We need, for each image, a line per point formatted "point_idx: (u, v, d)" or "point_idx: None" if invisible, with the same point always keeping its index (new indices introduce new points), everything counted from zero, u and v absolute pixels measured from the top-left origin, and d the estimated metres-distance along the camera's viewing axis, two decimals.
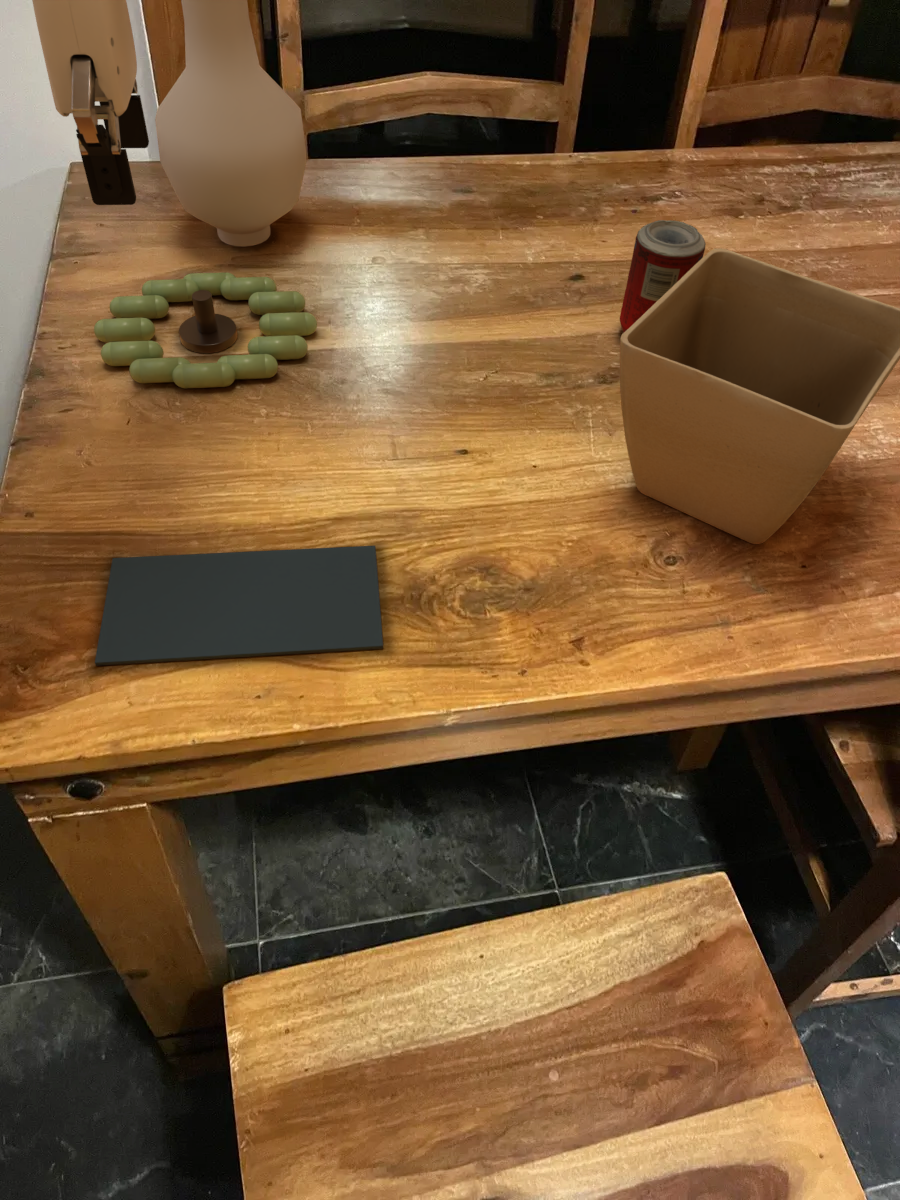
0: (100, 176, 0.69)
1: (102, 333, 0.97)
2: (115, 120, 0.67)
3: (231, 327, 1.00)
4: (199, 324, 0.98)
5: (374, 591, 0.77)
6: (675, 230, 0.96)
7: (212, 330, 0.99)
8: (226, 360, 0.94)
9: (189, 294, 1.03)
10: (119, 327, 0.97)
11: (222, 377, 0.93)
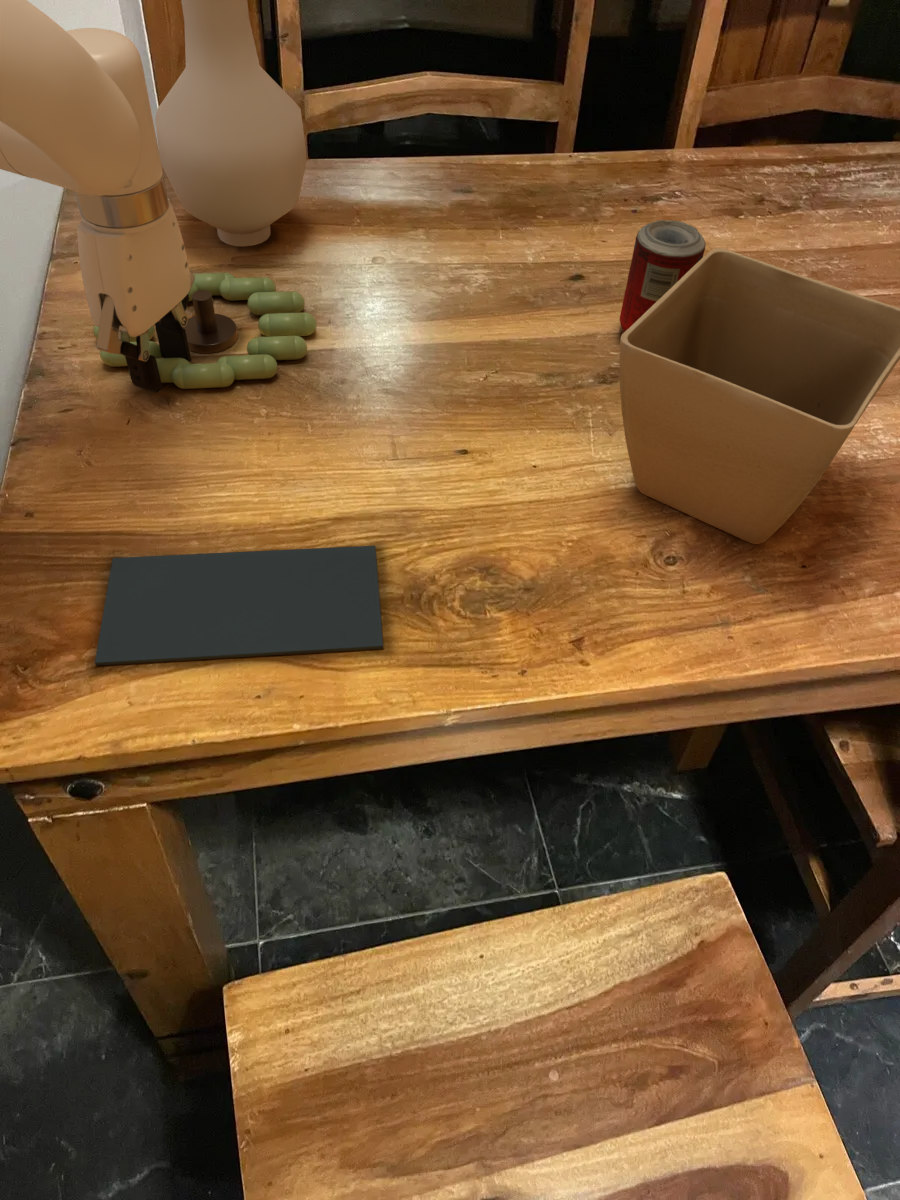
0: (133, 370, 0.90)
1: None
2: (142, 340, 0.87)
3: (231, 327, 1.00)
4: (199, 324, 0.98)
5: (374, 591, 0.77)
6: (675, 230, 0.96)
7: (212, 330, 0.99)
8: (225, 360, 0.94)
9: (188, 294, 1.03)
10: None
11: (222, 377, 0.93)
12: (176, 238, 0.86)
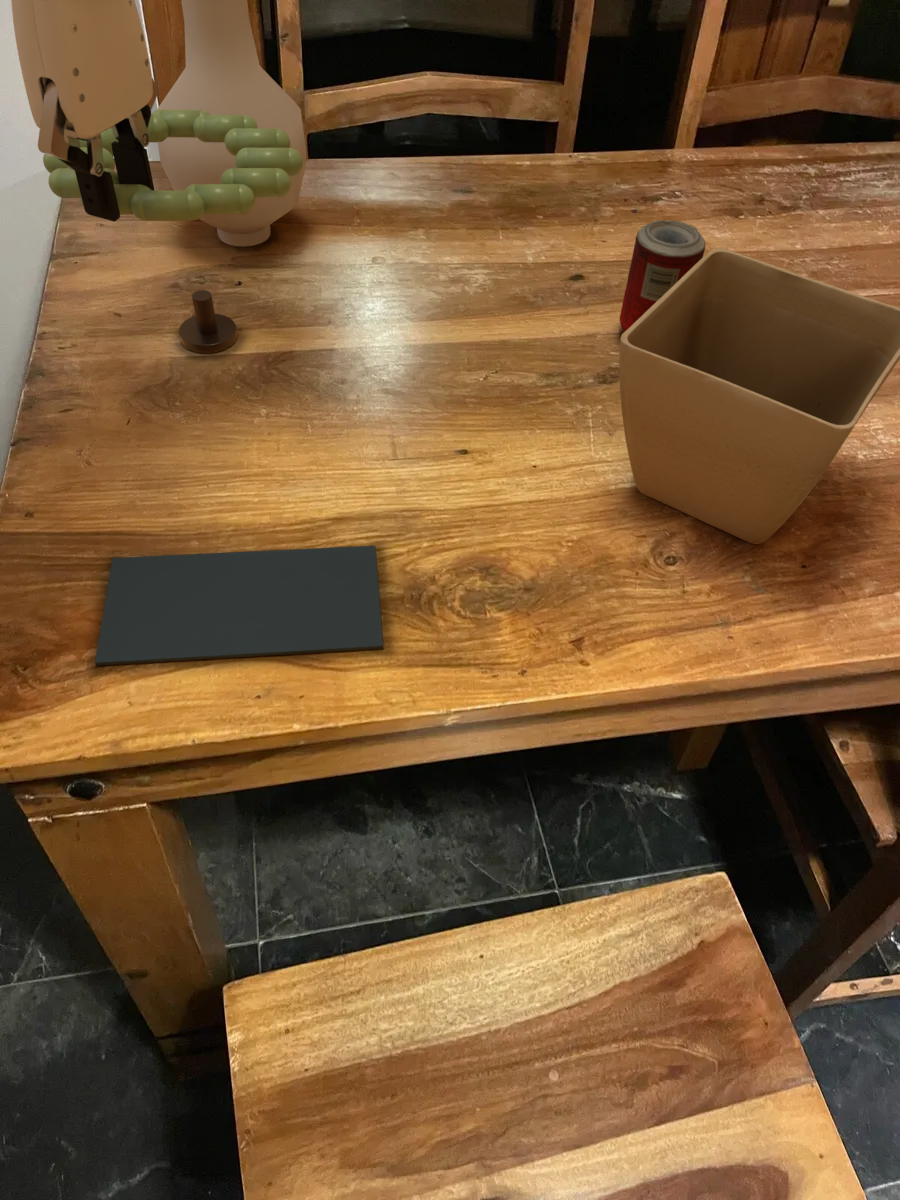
0: (84, 190, 0.77)
1: (52, 163, 0.83)
2: (93, 147, 0.74)
3: (231, 327, 1.00)
4: (199, 324, 0.98)
5: (374, 591, 0.77)
6: (675, 230, 0.96)
7: (212, 330, 0.99)
8: (194, 188, 0.80)
9: (157, 131, 0.89)
10: None
11: (188, 206, 0.79)
12: (133, 22, 0.72)
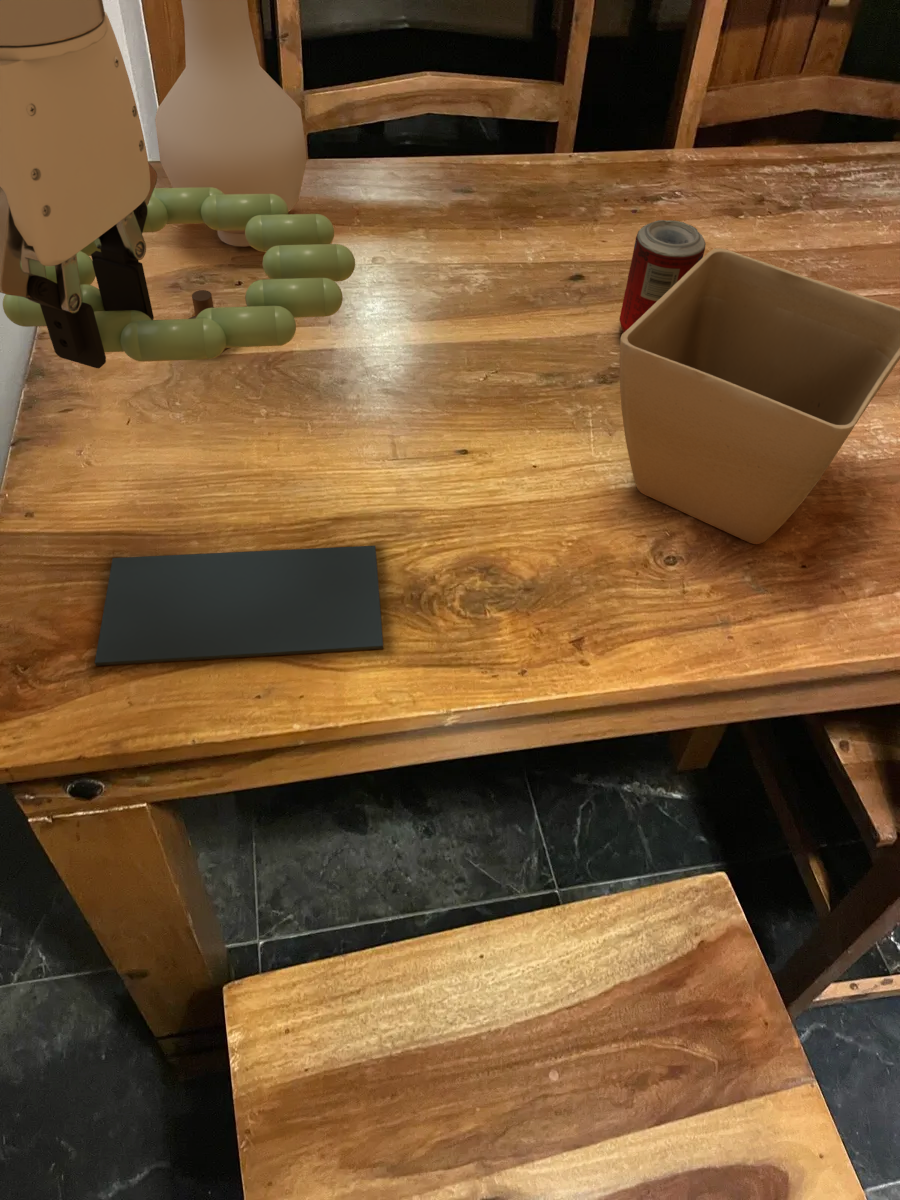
0: (54, 330, 0.53)
1: None
2: (66, 274, 0.50)
3: None
4: None
5: (374, 591, 0.77)
6: (675, 230, 0.96)
7: None
8: (211, 315, 0.56)
9: (152, 219, 0.66)
10: None
11: (204, 343, 0.56)
12: (122, 91, 0.48)
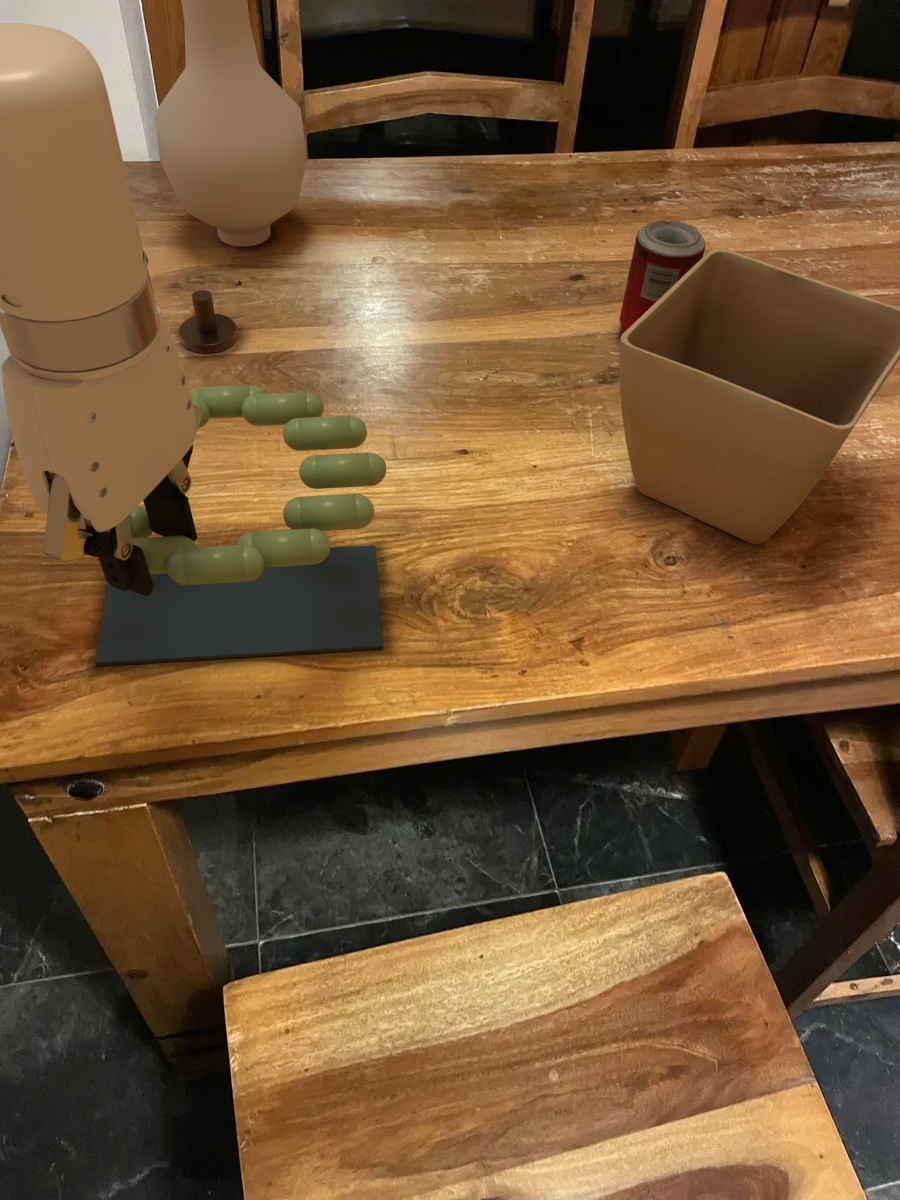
0: (106, 568, 0.57)
1: None
2: (119, 530, 0.54)
3: (231, 327, 1.00)
4: (199, 324, 0.98)
5: (374, 591, 0.77)
6: (675, 230, 0.96)
7: (212, 330, 0.99)
8: (251, 542, 0.60)
9: None
10: None
11: (244, 570, 0.59)
12: (173, 369, 0.52)
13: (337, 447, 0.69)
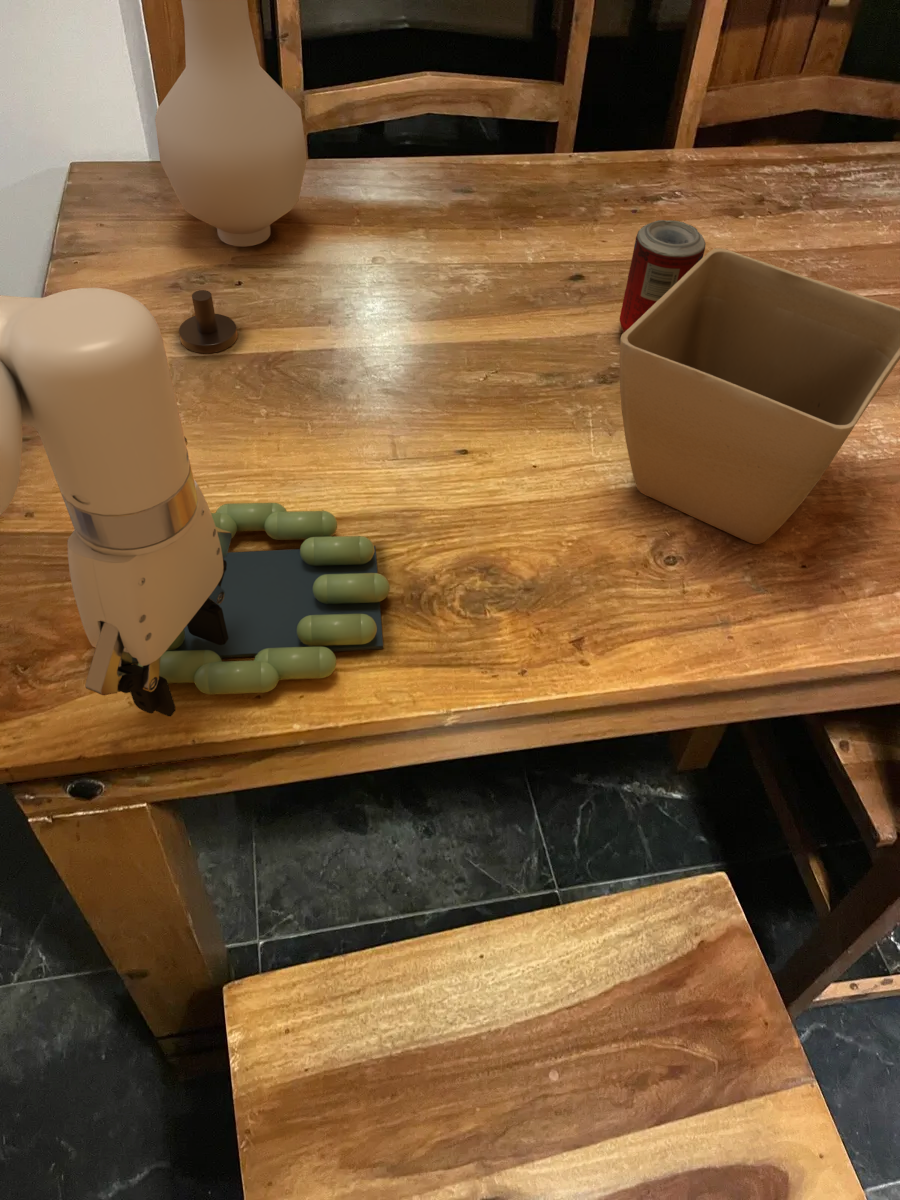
0: (135, 695, 0.65)
1: None
2: (151, 665, 0.62)
3: (231, 327, 1.00)
4: (199, 324, 0.98)
5: None
6: (675, 230, 0.96)
7: (212, 330, 0.99)
8: (267, 658, 0.69)
9: None
10: None
11: (261, 685, 0.68)
12: (206, 527, 0.61)
13: (347, 564, 0.78)
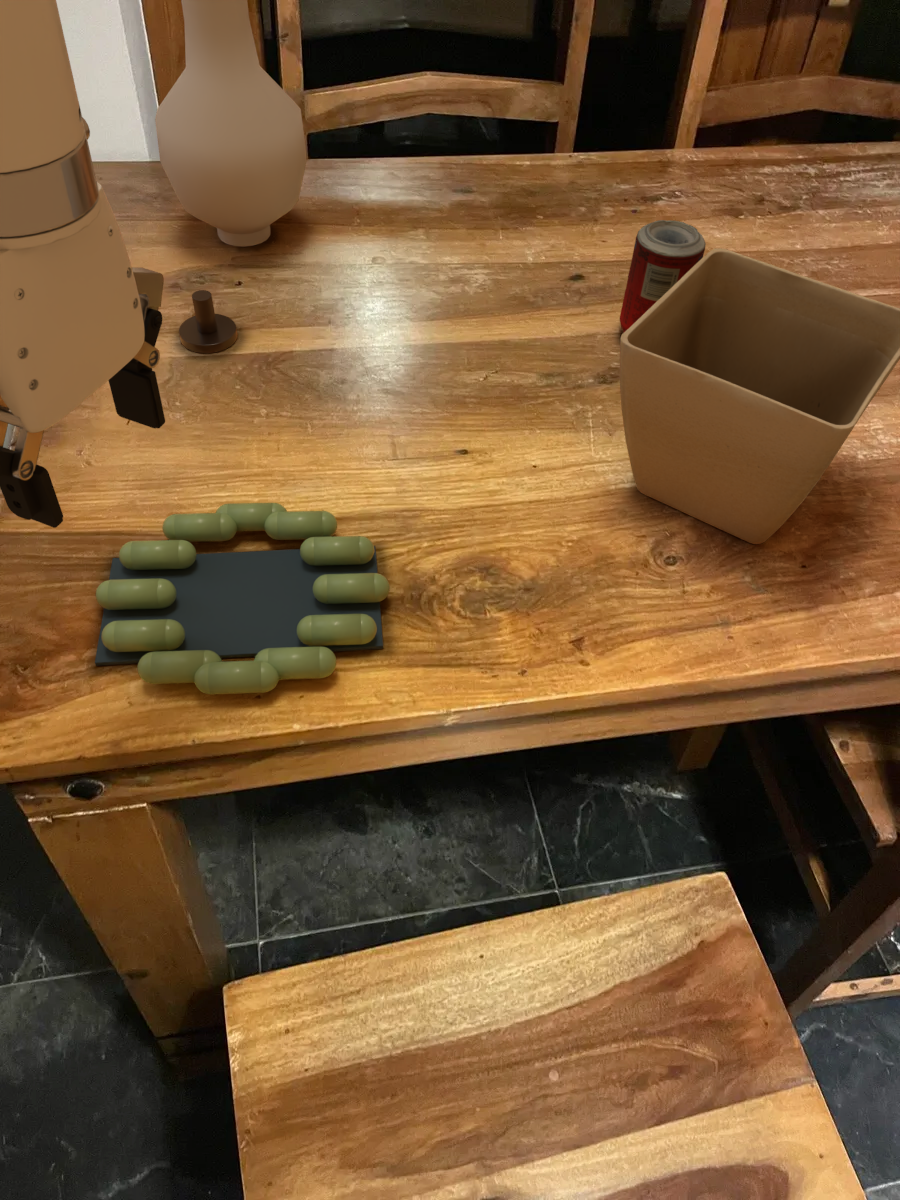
0: (7, 492, 0.50)
1: (106, 601, 0.73)
2: (28, 438, 0.47)
3: (231, 327, 1.00)
4: (199, 324, 0.98)
5: None
6: (675, 230, 0.96)
7: (212, 330, 0.99)
8: (267, 658, 0.69)
9: (224, 534, 0.79)
10: (129, 595, 0.73)
11: (261, 685, 0.68)
12: (116, 257, 0.48)
13: (347, 564, 0.78)
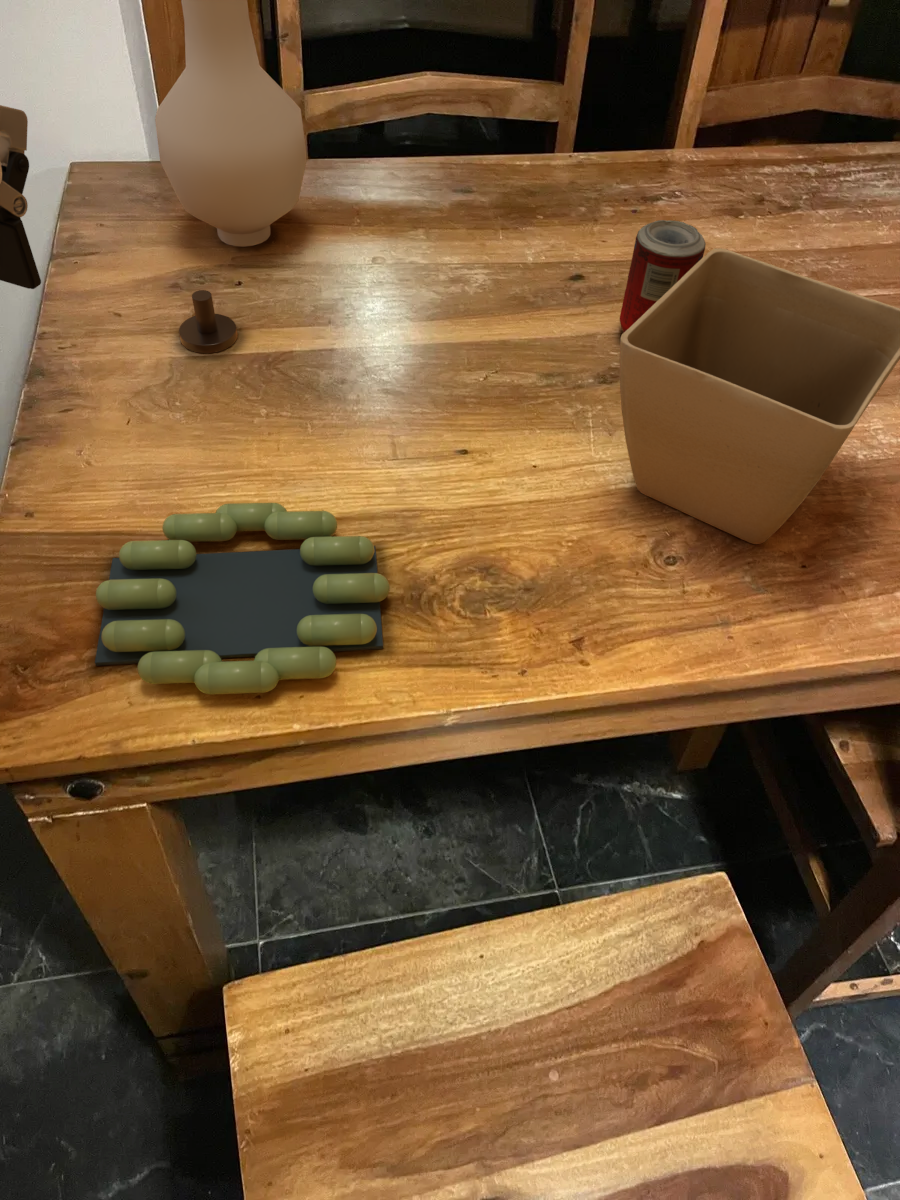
0: None
1: (106, 601, 0.73)
2: None
3: (231, 327, 1.00)
4: (199, 324, 0.98)
5: None
6: (675, 230, 0.96)
7: (212, 330, 0.99)
8: (267, 658, 0.69)
9: (224, 534, 0.79)
10: (129, 595, 0.73)
11: (261, 685, 0.68)
12: None
13: (347, 564, 0.78)
